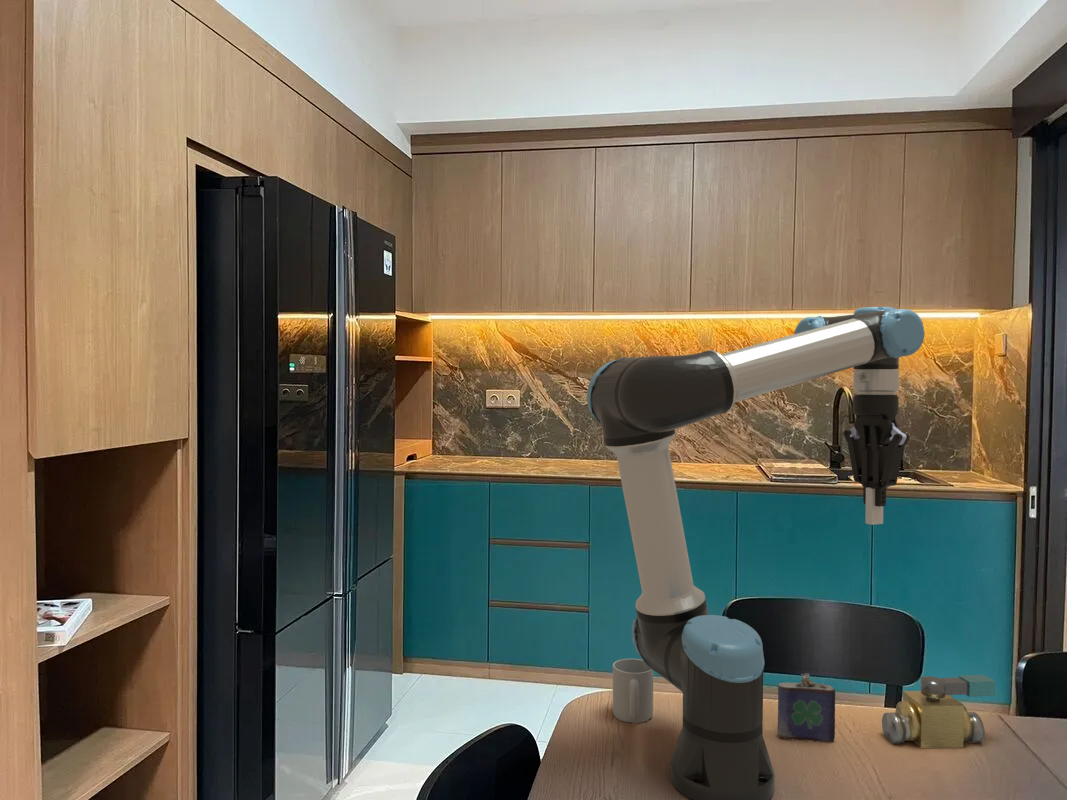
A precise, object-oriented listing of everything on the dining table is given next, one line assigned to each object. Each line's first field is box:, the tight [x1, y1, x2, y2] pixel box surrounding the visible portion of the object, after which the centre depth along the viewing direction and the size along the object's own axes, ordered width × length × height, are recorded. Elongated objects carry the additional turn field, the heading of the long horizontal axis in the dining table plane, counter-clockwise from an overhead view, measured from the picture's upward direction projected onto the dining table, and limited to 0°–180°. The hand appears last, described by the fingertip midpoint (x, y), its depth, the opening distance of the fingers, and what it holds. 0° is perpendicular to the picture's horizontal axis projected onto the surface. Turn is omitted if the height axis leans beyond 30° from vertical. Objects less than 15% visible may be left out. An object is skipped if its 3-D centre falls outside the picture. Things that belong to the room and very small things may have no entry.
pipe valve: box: [881, 690, 986, 749], centre depth 127 cm, size 15×6×8 cm, turn 91°
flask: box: [777, 672, 836, 744], centre depth 128 cm, size 9×3×11 cm, turn 80°
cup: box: [612, 658, 654, 724], centre depth 136 cm, size 7×10×9 cm
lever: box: [920, 674, 996, 698], centre depth 128 cm, size 12×4×2 cm, turn 95°
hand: (874, 523), depth 138 cm, fingers closed
